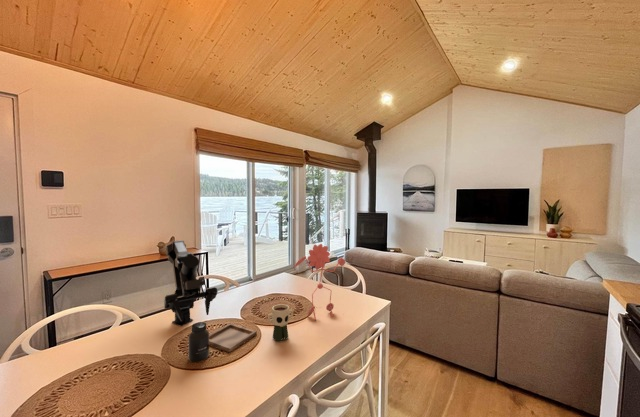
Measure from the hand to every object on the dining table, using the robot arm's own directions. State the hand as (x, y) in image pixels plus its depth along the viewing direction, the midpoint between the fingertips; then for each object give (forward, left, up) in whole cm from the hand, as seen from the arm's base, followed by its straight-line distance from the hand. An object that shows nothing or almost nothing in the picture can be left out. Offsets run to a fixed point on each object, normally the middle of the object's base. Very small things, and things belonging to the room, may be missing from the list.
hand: (195, 317), depth 105 cm
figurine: (+26, +51, -12) cm, 59 cm away
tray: (+6, +12, -12) cm, 18 cm away
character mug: (+24, +22, -12) cm, 35 cm away
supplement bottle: (+6, -3, -12) cm, 14 cm away
